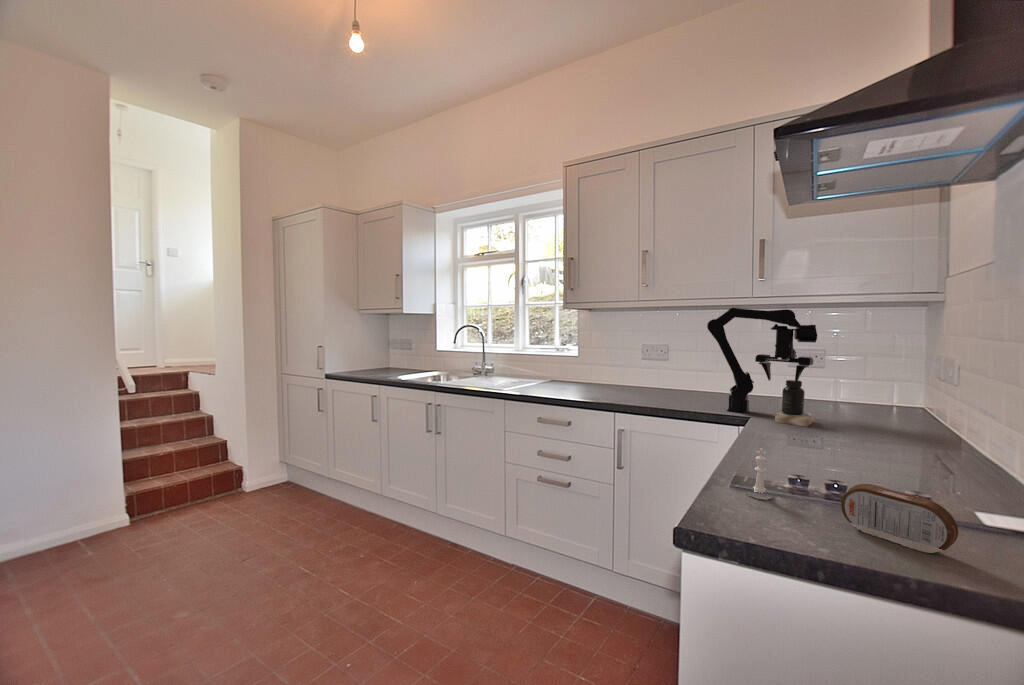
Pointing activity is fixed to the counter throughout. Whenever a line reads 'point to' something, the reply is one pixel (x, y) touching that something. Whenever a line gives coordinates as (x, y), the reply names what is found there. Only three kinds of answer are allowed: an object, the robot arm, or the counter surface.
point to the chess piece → (760, 472)
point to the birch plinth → (795, 419)
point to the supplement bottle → (793, 398)
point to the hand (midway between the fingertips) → (782, 381)
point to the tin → (900, 515)
